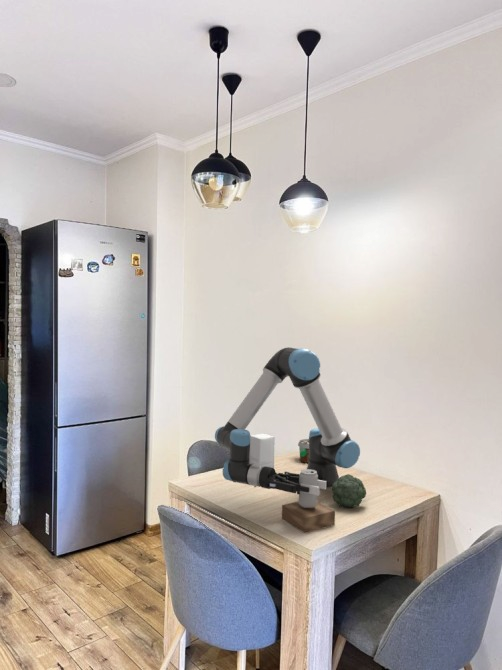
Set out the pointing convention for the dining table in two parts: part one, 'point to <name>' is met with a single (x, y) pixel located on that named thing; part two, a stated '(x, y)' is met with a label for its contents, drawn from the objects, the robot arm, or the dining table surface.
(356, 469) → the dining table surface
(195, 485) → the dining table surface
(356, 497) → the vegetable
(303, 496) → the beverage can
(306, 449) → the food container
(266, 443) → the supplement box
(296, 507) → the walnut block
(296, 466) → the dining table surface
